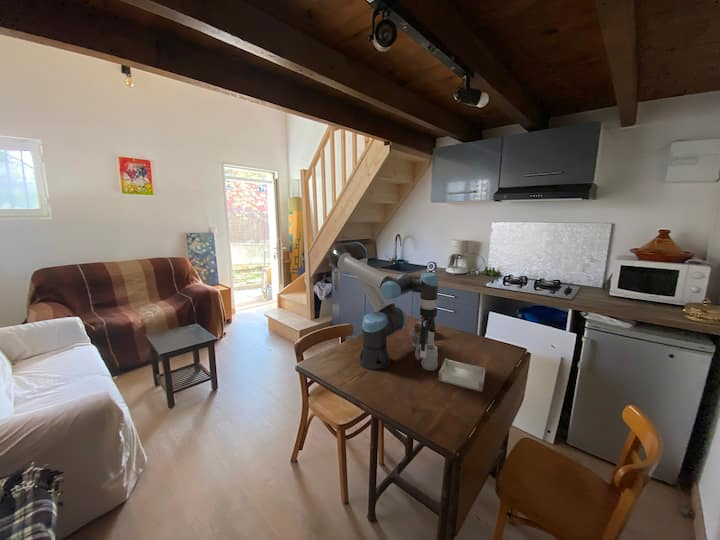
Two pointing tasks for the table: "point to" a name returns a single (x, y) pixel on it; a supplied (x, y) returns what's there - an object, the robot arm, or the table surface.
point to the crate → (462, 375)
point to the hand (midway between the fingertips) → (427, 350)
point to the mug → (428, 357)
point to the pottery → (416, 332)
